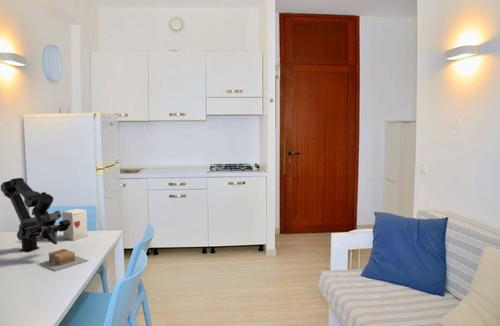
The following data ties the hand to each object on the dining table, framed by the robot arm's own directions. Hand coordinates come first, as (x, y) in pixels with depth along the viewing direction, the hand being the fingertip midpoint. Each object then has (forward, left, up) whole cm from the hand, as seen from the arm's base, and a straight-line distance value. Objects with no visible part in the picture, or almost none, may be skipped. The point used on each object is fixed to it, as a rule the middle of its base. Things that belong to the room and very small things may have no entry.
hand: (56, 243), depth 179 cm
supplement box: (-20, +31, -8) cm, 38 cm away
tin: (-36, +25, -8) cm, 45 cm away
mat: (+7, -2, -8) cm, 10 cm away
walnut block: (0, 0, -5) cm, 5 cm away
